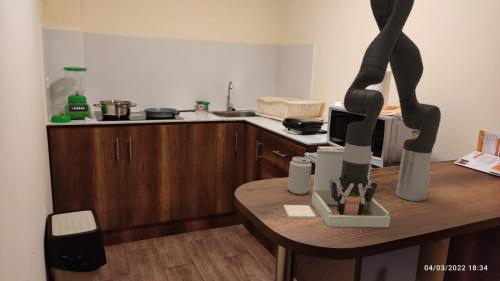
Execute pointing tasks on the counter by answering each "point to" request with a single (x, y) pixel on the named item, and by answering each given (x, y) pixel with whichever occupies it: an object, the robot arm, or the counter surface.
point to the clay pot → (352, 204)
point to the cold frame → (331, 170)
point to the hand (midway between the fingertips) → (349, 213)
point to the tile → (299, 211)
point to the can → (299, 175)
